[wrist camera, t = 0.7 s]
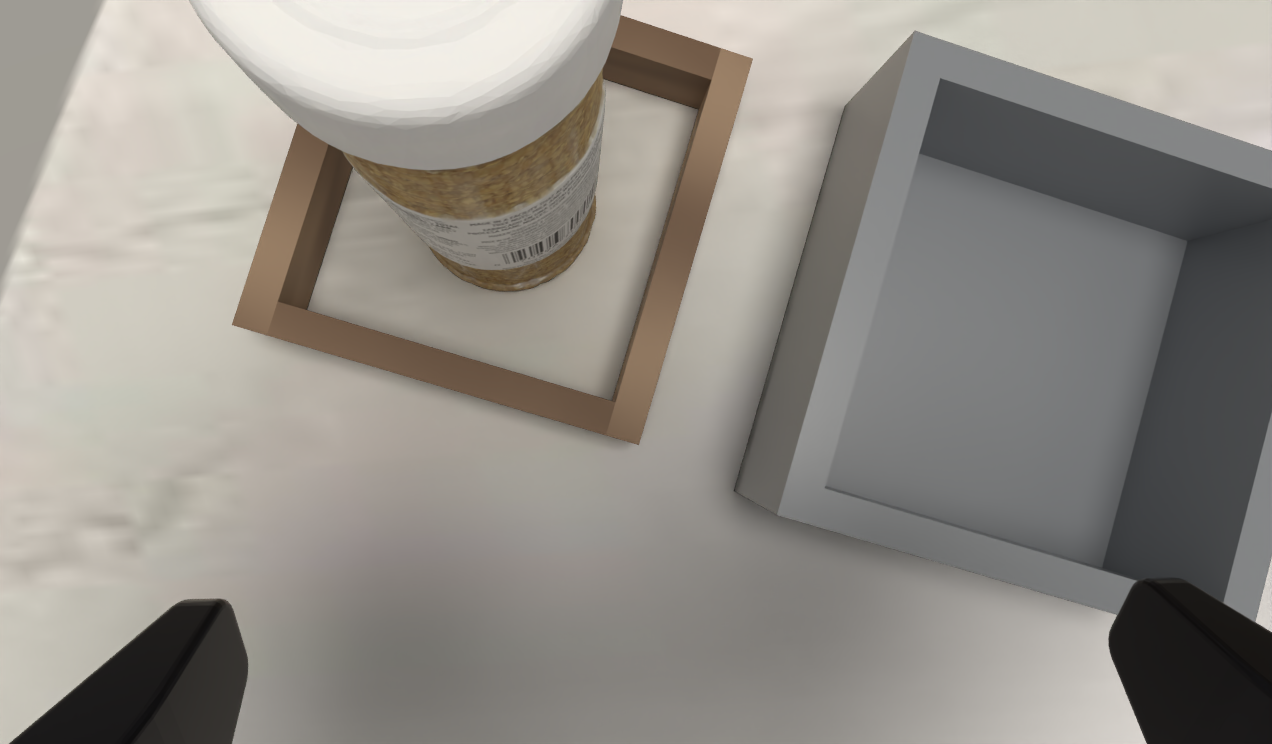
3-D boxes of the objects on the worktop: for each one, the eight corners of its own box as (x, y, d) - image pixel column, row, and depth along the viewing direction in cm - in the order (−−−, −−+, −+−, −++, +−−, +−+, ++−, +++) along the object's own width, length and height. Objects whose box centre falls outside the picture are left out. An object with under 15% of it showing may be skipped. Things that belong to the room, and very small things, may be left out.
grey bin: (1110, 601, 22) (1247, 652, 18) (734, 490, 21) (776, 515, 17) (1208, 225, 23) (1365, 182, 18) (845, 106, 22) (914, 30, 17)
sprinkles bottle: (553, 94, 21) (520, -423, 8) (624, 255, 21) (709, 11, 8) (387, 160, 21) (58, -264, 8) (459, 325, 21) (258, 192, 8)
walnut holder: (632, 440, 21) (638, 445, 19) (265, 332, 21) (231, 324, 19) (736, 90, 22) (753, 58, 20) (380, -26, 21) (360, -71, 19)
